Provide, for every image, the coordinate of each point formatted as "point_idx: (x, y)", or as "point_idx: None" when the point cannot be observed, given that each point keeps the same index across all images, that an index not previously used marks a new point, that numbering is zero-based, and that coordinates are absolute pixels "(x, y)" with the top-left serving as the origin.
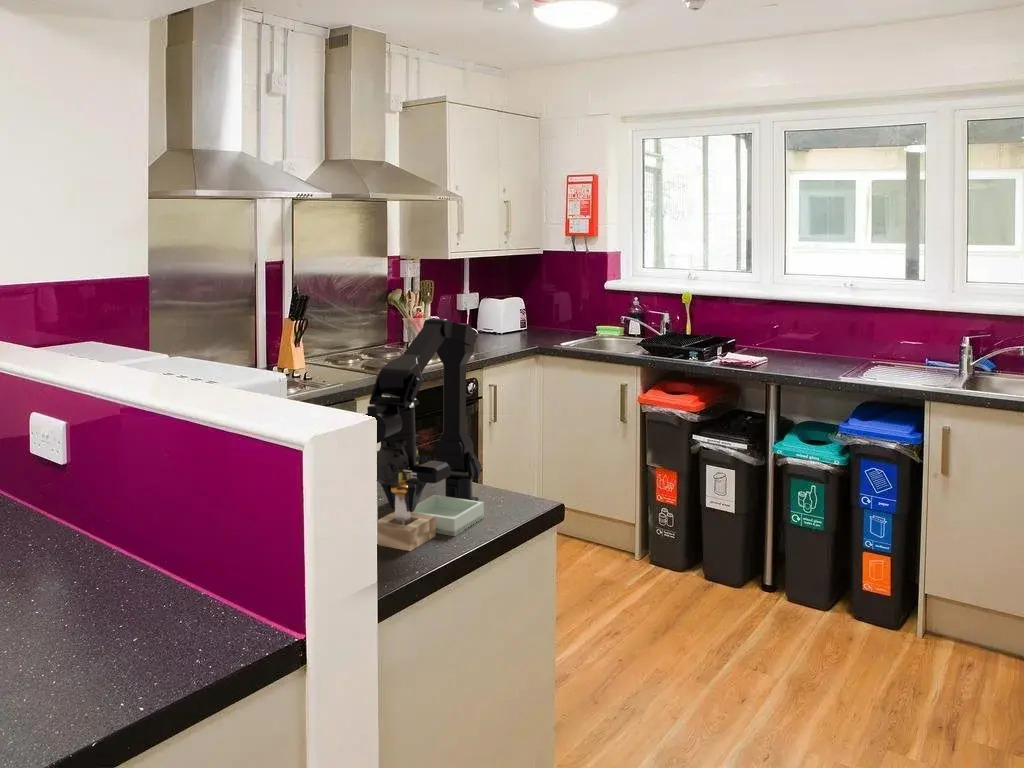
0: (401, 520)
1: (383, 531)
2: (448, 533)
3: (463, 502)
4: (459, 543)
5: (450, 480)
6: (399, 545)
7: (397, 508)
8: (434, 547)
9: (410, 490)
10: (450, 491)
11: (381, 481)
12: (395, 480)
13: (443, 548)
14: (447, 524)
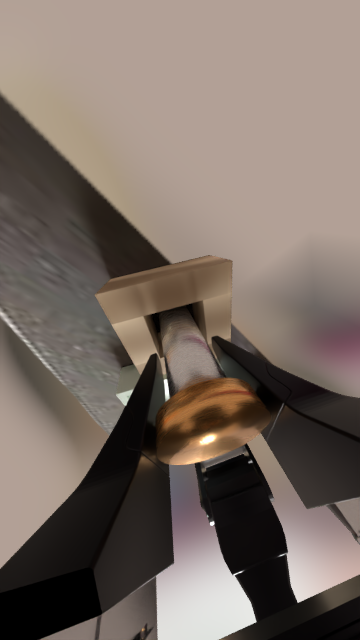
0: (169, 322)
1: (185, 268)
2: (132, 366)
3: None
4: (86, 358)
5: None
6: (137, 273)
7: (187, 339)
8: (97, 322)
9: (127, 445)
10: None
11: (356, 416)
12: (275, 442)
13: (80, 329)
14: (132, 379)
